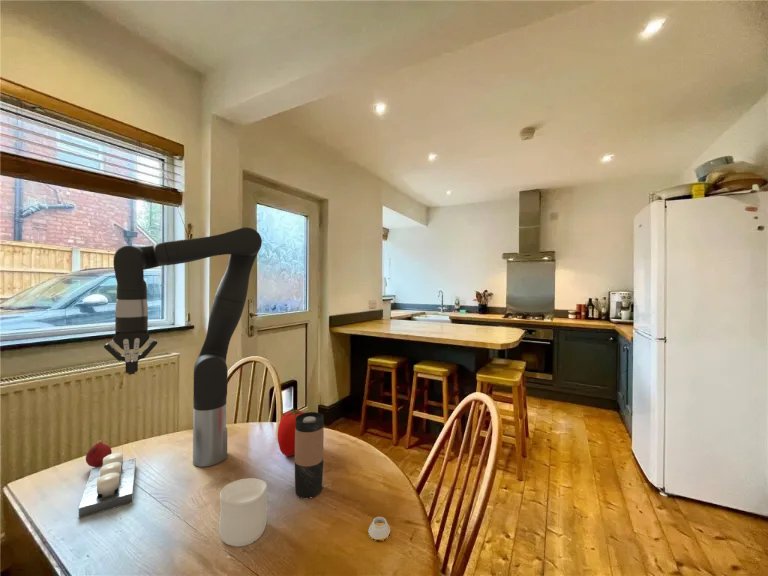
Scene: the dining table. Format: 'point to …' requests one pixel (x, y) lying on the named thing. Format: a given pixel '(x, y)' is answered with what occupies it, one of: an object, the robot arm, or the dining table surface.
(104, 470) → the knob mid
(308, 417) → the travel mug
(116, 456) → the knob far
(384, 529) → the lidless jar
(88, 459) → the onion
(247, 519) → the cup
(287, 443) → the tomato
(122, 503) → the mount panel
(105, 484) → the knob near
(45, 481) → the dining table surface
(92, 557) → the dining table surface
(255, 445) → the dining table surface
